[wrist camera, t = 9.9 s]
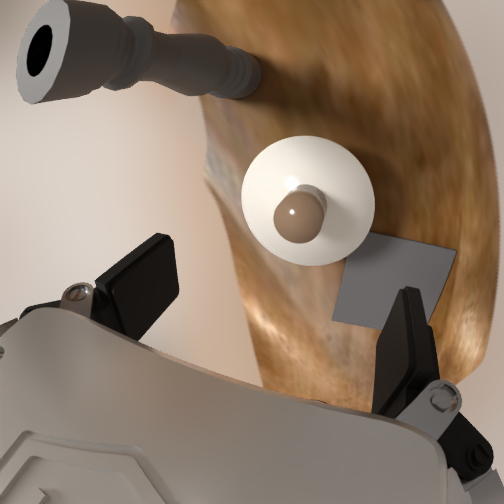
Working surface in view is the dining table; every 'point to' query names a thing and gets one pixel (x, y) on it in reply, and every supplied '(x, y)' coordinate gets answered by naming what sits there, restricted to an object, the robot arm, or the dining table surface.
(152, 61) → the candle holder
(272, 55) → the dining table surface
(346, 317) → the mat
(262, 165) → the lid
